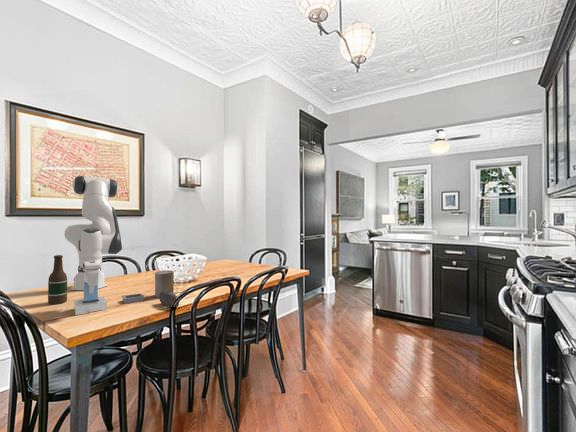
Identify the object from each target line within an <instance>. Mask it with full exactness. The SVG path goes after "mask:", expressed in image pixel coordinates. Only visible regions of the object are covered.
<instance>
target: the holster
mask: <svg viewBox="0 0 576 432" xmlns="http://www.w3.org/2000/svg"><path fill="white" fill-rule="evenodd" d="M122 302H123V303H124V304H125V305H127V304H132V303H141V302H145V295H143V293H135V294H134V293H133V294H125V295H122Z"/></svg>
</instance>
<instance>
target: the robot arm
mask: <svg viewBox="0 0 576 432" xmlns="http://www.w3.org/2000/svg"><path fill="white" fill-rule="evenodd" d="M71 186H72V190H73V192H74V193H75V194H77V195H81V196H82V195H83V198H82V207H81V215H82V217H83V218H84V219H86V220H88V221H90V222H91V224H89V223H88V224H85V223H84V224H83V223H81V224H73V225H68V226H67V227H66V228H65V230H64V238H65V240H66V241H67V242H69V243H71V244H72V245H73V247H75V249H76V251H77V253H78V267H77V274H75V275H74V278H73V284H72V287H70V291H84V282H87V284H88V286H89V294H93V293H94V286H97V285H98V290H99V289H102V288H105V287H108V284H107V283H105V273H104V272H103V271H102V266H103V255H104V254H105V255H106V254H107V255H117V254H118V253H120V252H121V251H122V250H123V247H124V243H123V242H124V241H123V239H122V235H121V231H120V227H119V221H118V216H117V212H116V209H115V207H113V206H111V205H110V203H109V198H113V197H116V195H117V194H118V193H119V184H118V181H116V180H115V179H112V178H106V177H100V176H85V175H78V176H76V177H74V180H72V185H71ZM108 222H109V223H108Z"/></svg>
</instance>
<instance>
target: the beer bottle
mask: <svg viewBox="0 0 576 432" xmlns="http://www.w3.org/2000/svg"><path fill="white" fill-rule="evenodd" d="M63 258H64V257H63V255H62V254H56V255H54V256H53V270H52V272H51V273H50V275H49V276H48V281H47V282H48V287H47V290H48V291H47V303H48V305H52V306H53V305H55V306H56V305H61V304H64V303H66V302H67V301H68V276H67V274H66V272H65V271H64V266H63V265H64V264H63Z"/></svg>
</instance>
